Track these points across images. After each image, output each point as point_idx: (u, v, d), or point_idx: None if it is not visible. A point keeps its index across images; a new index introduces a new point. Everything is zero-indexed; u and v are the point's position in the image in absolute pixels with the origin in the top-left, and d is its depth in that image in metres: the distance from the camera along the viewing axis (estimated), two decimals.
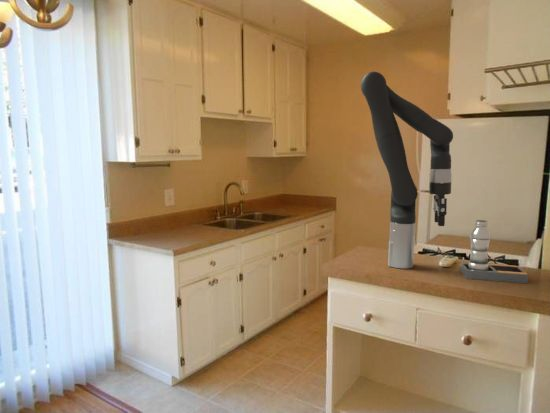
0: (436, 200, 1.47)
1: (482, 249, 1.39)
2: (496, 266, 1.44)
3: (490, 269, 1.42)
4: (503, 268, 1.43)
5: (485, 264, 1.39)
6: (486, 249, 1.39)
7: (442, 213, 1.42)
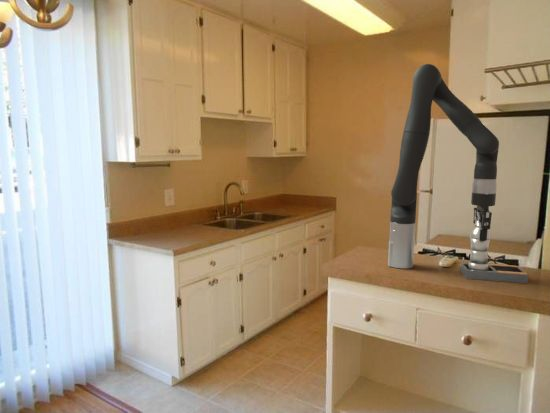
0: (479, 212, 1.38)
1: (482, 249, 1.39)
2: (496, 266, 1.44)
3: (490, 269, 1.42)
4: (503, 268, 1.43)
5: (485, 264, 1.39)
6: (486, 249, 1.39)
7: (485, 227, 1.34)
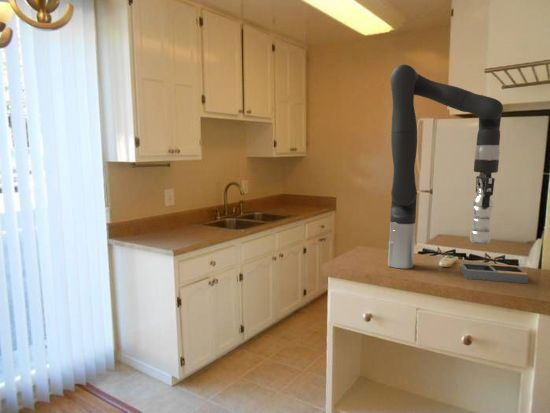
0: (481, 179, 1.36)
1: (484, 217, 1.37)
2: (496, 266, 1.44)
3: (490, 269, 1.42)
4: (503, 268, 1.43)
5: (487, 232, 1.38)
6: (488, 217, 1.37)
7: (488, 193, 1.33)
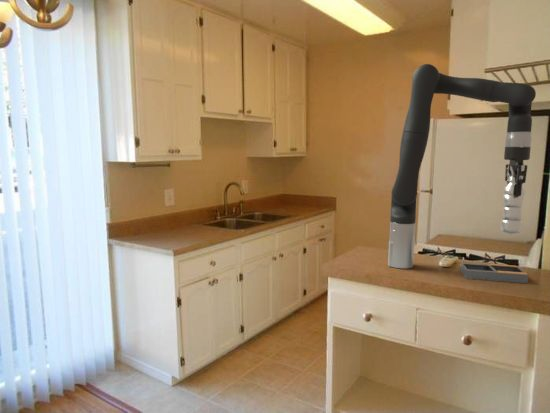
0: (513, 167, 1.34)
1: (516, 205, 1.34)
2: (496, 266, 1.44)
3: (490, 269, 1.42)
4: (503, 268, 1.43)
5: (519, 220, 1.35)
6: (520, 205, 1.34)
7: (520, 181, 1.30)
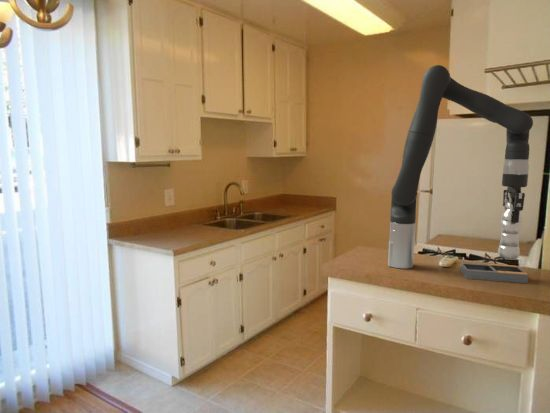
0: (510, 193, 1.35)
1: (513, 231, 1.35)
2: (496, 266, 1.44)
3: (490, 269, 1.42)
4: (503, 268, 1.43)
5: (516, 247, 1.36)
6: (518, 231, 1.36)
7: (518, 208, 1.31)
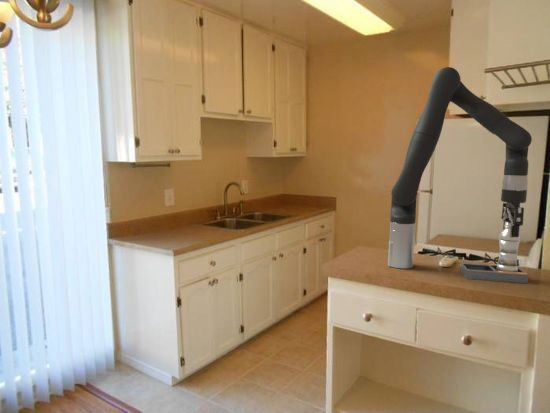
0: (509, 209, 1.35)
1: (511, 251, 1.36)
2: (496, 266, 1.44)
3: (490, 269, 1.42)
4: None
5: (515, 266, 1.37)
6: (516, 251, 1.36)
7: (518, 223, 1.31)
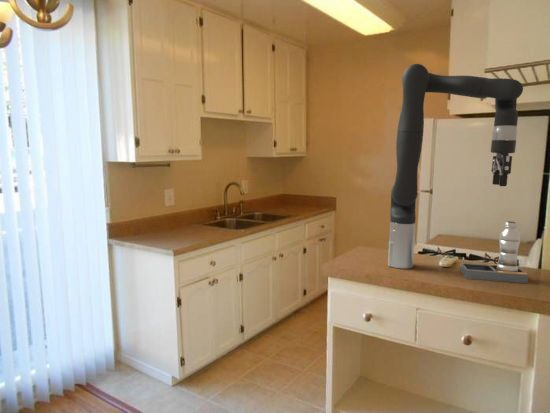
0: (498, 159, 1.38)
1: (512, 251, 1.36)
2: (496, 266, 1.44)
3: (490, 269, 1.42)
4: None
5: (515, 266, 1.37)
6: (516, 251, 1.36)
7: (506, 172, 1.33)
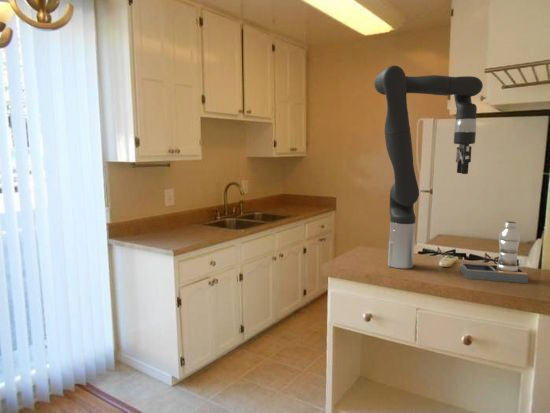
0: (460, 149, 1.52)
1: (511, 251, 1.36)
2: (496, 266, 1.44)
3: (490, 269, 1.42)
4: None
5: (514, 266, 1.37)
6: (516, 251, 1.36)
7: (466, 160, 1.47)
